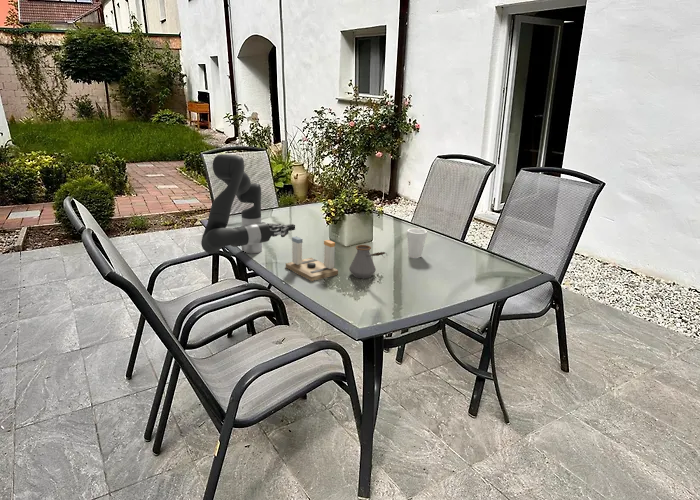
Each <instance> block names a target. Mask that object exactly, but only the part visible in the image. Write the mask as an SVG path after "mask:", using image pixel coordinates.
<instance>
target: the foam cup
mask: <svg viewBox="0 0 700 500" xmlns="http://www.w3.org/2000/svg"><path fill="white" fill-rule="evenodd" d="M406 232H407V233H406V236H407V251H408V252H407V253H408V257H409V258H411V259H419V258H418V257H421V258H422V255H423V251H424V247H425V243H426V238H427V233H428V231H427V230H426V229H423V228H408V229H407V231H406Z"/></svg>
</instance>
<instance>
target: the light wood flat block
mask: <svg viewBox="0 0 700 500" xmlns="http://www.w3.org/2000/svg"><path fill="white" fill-rule="evenodd" d="M287 268H288V269H287ZM285 269H287V270H289V269H290V270H289V271H291V270H292V271H291V272H293V271H294V273H295V274H297V275H298V276H300V275H301V277H302V276H303V278H304V277H305V278H304V279H306V278H307V279H306V280H308V279H309V280H308V281H309V282H314V280H315V281H318V279H319V280H322V279H326V278H329V277H334V276H336V275H338V274H339V269H337V268H335V267H334V268H332V269H329V268H327V267H324V262H322V261H319V260H317V259H315V258H314V257H308V258H304V259H303V258H302V264H299V265H297V264H295V263H293V262H292V261H291V262H286V263H285Z"/></svg>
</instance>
